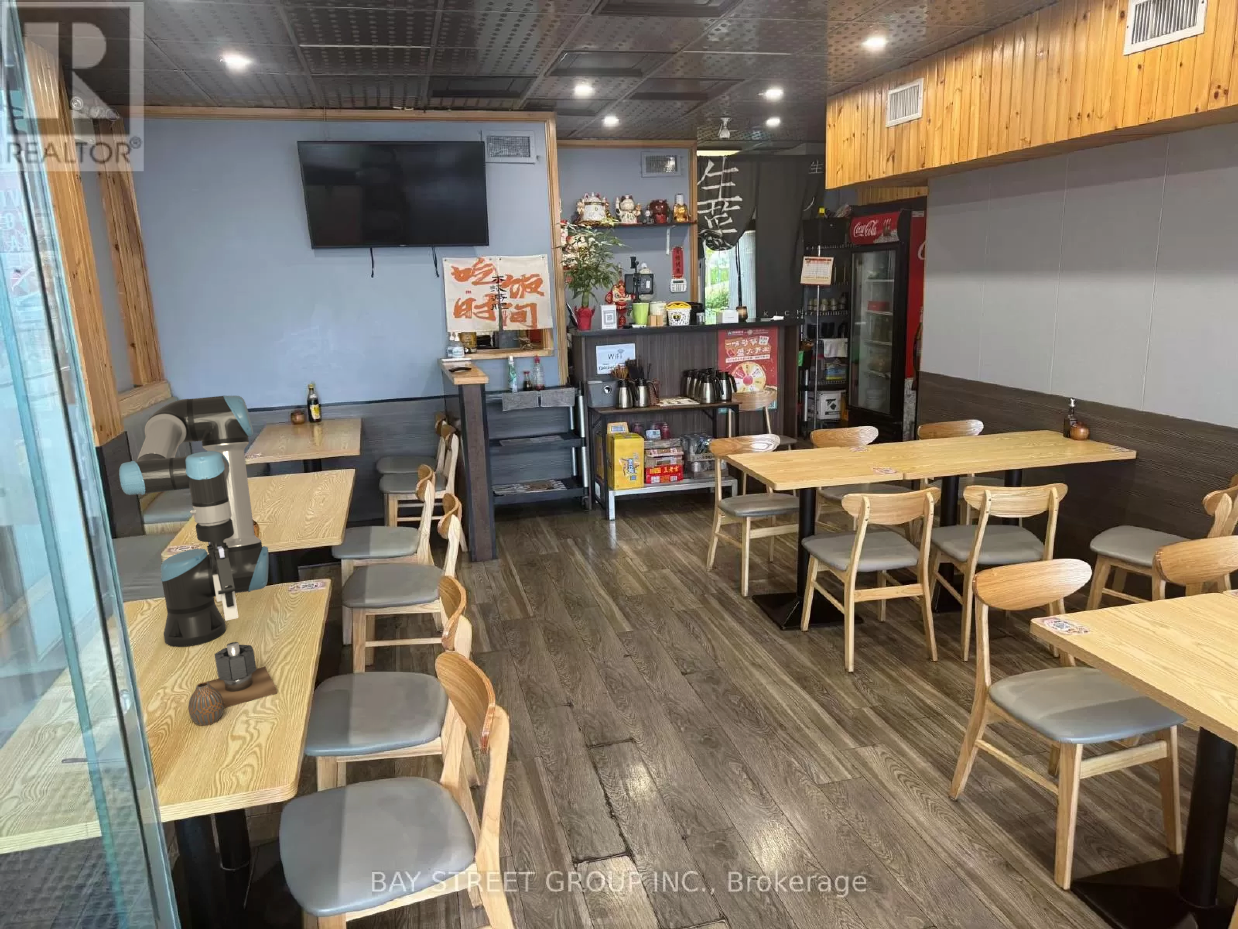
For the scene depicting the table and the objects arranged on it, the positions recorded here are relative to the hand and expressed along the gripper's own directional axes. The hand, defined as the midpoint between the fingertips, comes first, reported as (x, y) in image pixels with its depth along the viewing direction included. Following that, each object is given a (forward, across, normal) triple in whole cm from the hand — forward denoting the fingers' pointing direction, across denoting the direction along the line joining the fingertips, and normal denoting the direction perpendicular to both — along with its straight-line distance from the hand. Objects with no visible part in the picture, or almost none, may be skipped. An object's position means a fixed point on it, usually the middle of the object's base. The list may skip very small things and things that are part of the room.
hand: (227, 609), depth 192 cm
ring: (+16, 0, 0) cm, 16 cm away
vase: (+21, +11, -8) cm, 25 cm away
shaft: (+19, 0, 0) cm, 19 cm away
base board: (+20, 0, 0) cm, 20 cm away
